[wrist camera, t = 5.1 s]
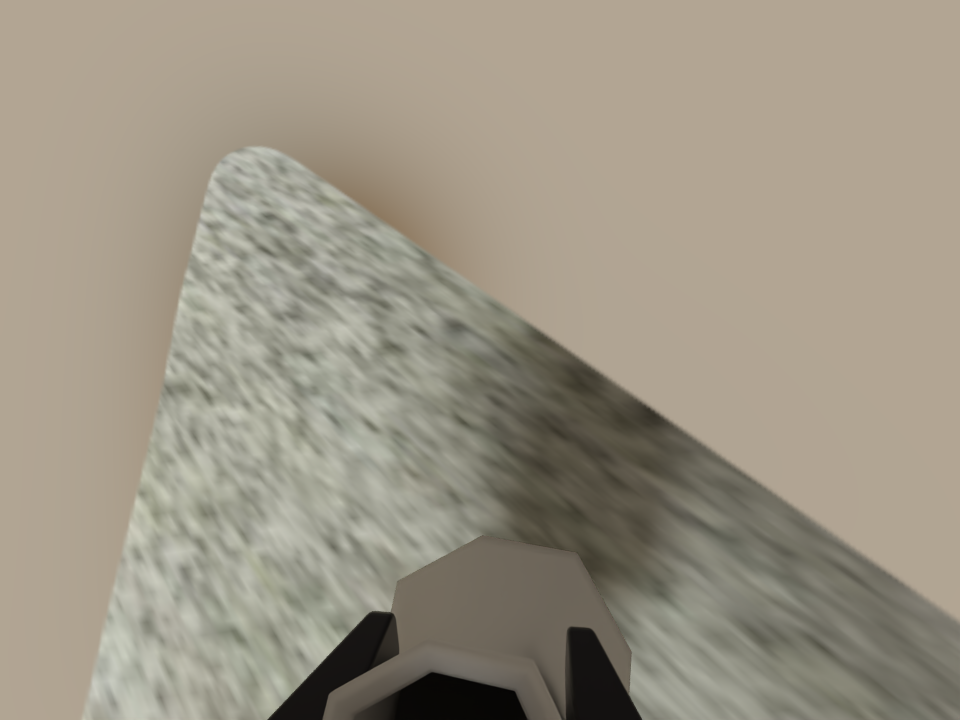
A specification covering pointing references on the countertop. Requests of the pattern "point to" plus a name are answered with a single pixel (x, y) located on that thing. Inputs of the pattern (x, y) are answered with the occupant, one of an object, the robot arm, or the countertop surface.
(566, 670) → the robot arm
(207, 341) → the countertop surface
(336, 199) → the countertop surface
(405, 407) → the countertop surface
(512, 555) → the flask
